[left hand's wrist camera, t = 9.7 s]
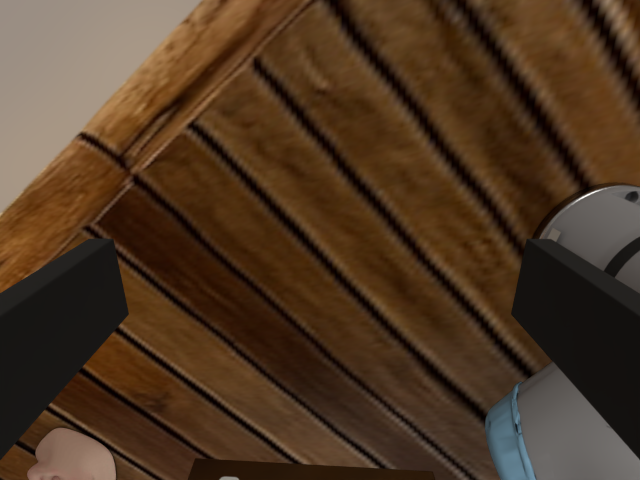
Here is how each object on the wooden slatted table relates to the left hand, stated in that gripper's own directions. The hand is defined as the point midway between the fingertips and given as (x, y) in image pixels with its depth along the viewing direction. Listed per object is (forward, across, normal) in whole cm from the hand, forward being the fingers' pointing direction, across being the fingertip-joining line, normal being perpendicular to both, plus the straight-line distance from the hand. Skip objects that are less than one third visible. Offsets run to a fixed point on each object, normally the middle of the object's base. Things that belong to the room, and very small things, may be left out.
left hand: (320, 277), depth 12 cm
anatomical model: (+28, -35, -44) cm, 63 cm away
